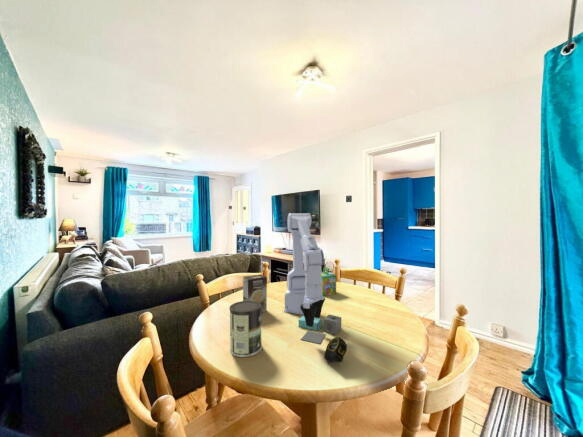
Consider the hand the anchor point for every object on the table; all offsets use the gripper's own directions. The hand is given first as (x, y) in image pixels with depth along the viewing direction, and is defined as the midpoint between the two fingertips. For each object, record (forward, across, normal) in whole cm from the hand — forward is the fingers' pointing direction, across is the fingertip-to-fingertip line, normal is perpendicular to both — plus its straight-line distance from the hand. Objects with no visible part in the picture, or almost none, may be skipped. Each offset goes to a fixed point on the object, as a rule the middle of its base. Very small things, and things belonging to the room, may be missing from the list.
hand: (313, 321), depth 87 cm
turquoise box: (+6, +7, +4) cm, 10 cm away
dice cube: (+6, +8, -5) cm, 11 cm away
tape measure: (+6, -12, -11) cm, 17 cm away
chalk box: (+6, +47, +10) cm, 49 cm away
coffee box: (+6, +11, +32) cm, 34 cm away
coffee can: (+6, -16, +18) cm, 24 cm away
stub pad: (+6, 0, 0) cm, 6 cm away
